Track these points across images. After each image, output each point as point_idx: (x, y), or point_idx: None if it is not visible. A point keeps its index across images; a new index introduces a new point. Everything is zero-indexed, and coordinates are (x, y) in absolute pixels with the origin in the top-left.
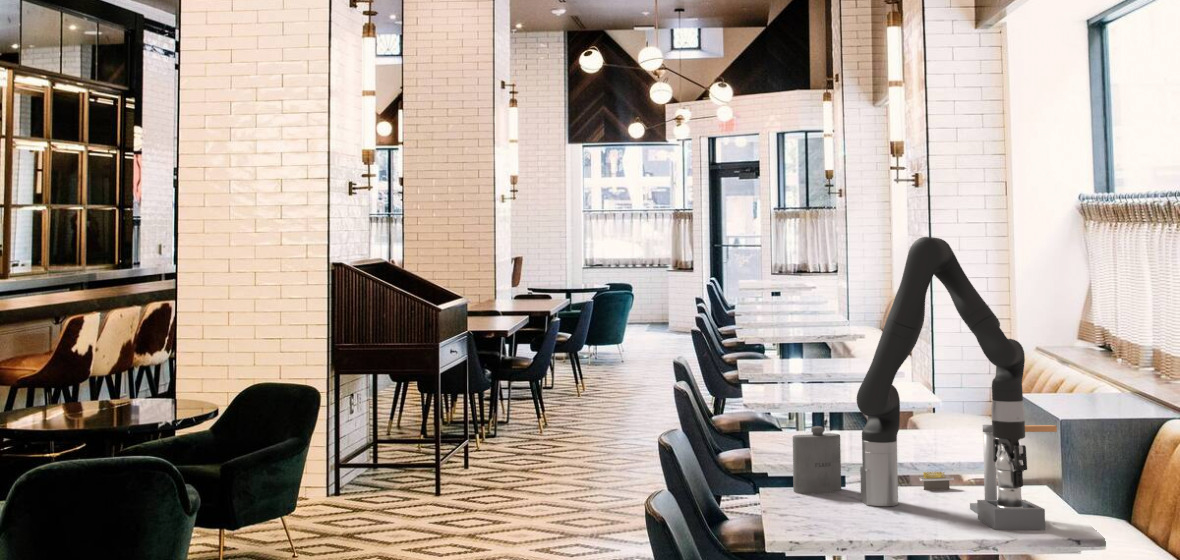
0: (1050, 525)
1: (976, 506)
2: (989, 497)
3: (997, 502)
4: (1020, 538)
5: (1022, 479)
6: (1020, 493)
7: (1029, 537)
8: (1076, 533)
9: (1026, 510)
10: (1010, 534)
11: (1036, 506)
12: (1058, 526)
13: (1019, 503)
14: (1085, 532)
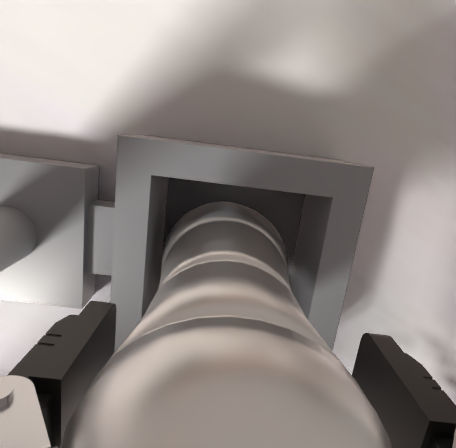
0: (265, 86)
1: (16, 299)
2: (4, 268)
3: (144, 297)
4: (433, 323)
5: (416, 370)
6: (277, 270)
7: (429, 286)
8: (423, 59)
9: (350, 260)
10: (372, 326)
11: (302, 173)
12: (289, 59)
13: (284, 265)
14: (417, 2)
